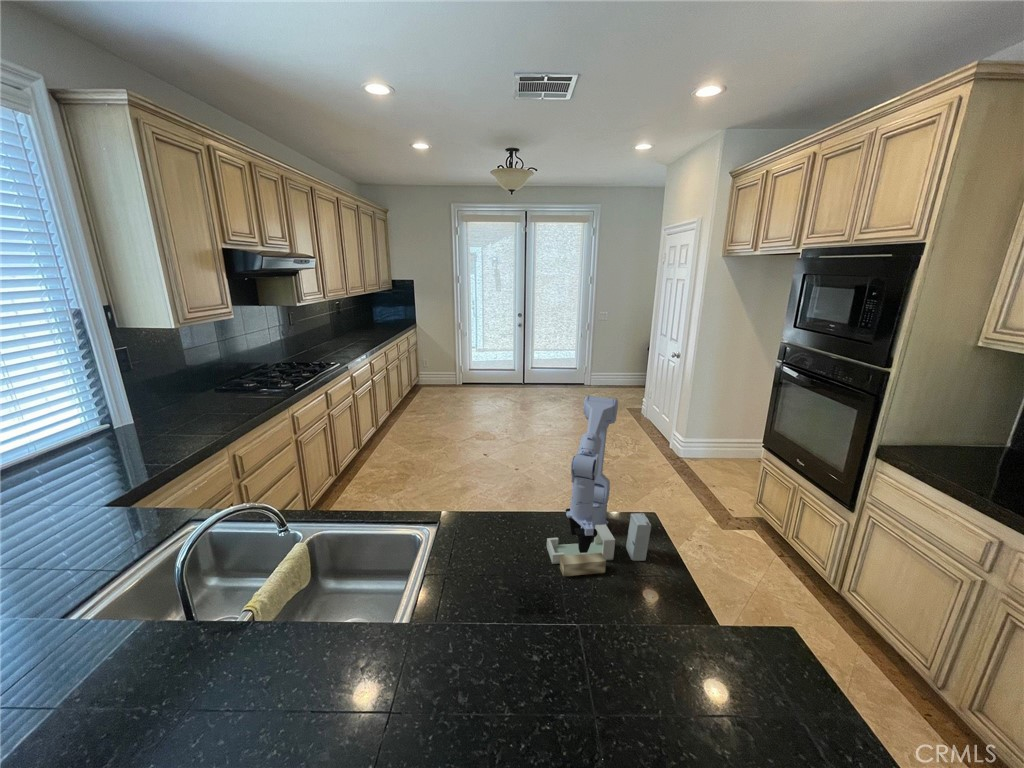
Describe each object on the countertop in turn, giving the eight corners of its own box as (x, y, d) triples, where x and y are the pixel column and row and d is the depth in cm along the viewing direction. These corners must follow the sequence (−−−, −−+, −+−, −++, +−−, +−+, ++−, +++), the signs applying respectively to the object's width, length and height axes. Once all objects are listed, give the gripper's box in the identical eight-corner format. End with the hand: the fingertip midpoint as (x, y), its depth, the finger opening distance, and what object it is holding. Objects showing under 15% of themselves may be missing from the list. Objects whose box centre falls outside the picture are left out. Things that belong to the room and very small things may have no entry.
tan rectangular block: (600, 564, 114) (601, 552, 113) (604, 573, 111) (606, 560, 110) (559, 568, 112) (560, 556, 111) (563, 577, 109) (564, 564, 108)
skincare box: (625, 547, 122) (629, 512, 119) (639, 547, 122) (644, 512, 119) (632, 561, 116) (636, 524, 113) (647, 561, 116) (651, 524, 113)
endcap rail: (604, 543, 123) (605, 524, 122) (613, 559, 116) (615, 539, 114) (546, 546, 121) (547, 527, 119) (552, 564, 114) (553, 543, 112)
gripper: (560, 485, 112) (558, 527, 116) (575, 514, 98) (572, 561, 102) (585, 484, 113) (581, 526, 117) (603, 512, 99) (598, 559, 103)
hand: (579, 542), depth 109 cm, fingers open, 7 cm apart
